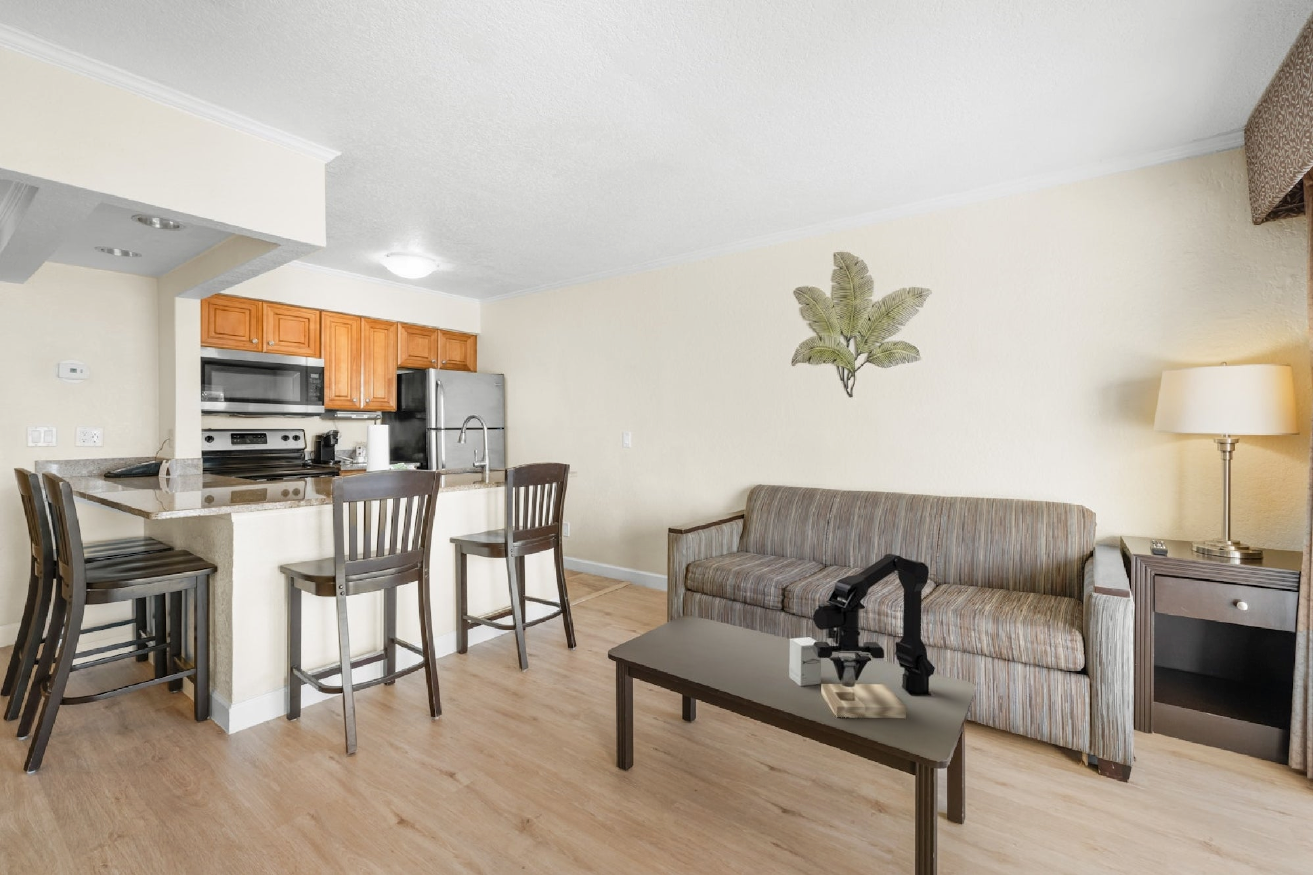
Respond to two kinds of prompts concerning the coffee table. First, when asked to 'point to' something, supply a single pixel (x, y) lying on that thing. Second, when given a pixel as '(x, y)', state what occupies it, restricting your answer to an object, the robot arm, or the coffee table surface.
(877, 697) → the plate
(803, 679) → the supplement box
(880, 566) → the robot arm
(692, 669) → the coffee table surface
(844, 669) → the flared metal knob
